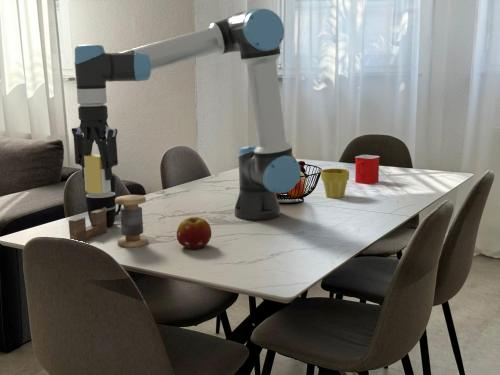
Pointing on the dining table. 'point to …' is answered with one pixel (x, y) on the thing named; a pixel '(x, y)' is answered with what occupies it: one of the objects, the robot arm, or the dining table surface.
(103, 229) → the notched board
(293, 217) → the dining table surface
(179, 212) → the dining table surface
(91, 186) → the yellow block
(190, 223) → the fruit
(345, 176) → the plant pot
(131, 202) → the bobbin
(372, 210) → the dining table surface
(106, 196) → the mug
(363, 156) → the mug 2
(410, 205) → the dining table surface
